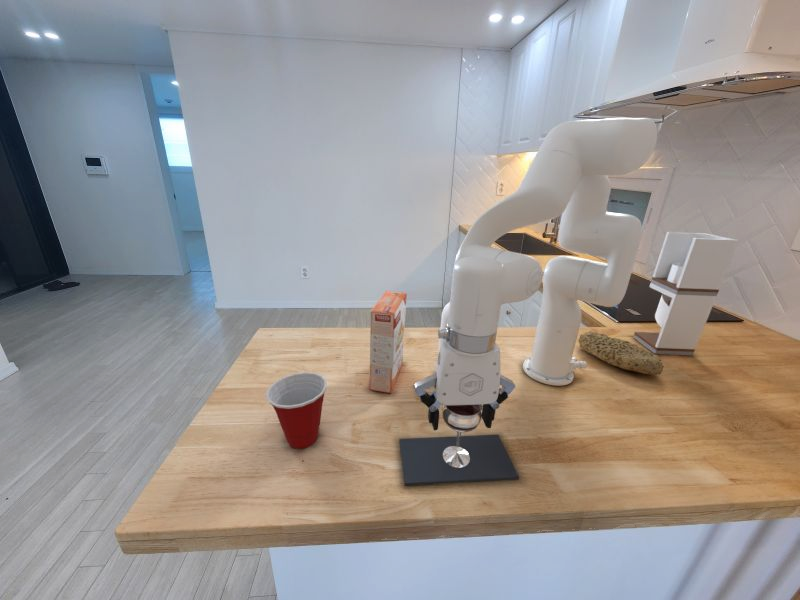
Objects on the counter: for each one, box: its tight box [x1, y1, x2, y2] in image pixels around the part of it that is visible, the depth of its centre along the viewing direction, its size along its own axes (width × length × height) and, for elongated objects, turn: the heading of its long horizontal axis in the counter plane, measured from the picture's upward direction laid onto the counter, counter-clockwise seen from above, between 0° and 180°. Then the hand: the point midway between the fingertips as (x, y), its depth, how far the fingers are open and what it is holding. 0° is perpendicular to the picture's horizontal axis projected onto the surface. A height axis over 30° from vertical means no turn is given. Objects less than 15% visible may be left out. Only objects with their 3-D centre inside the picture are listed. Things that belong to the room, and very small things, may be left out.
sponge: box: [578, 330, 665, 376], centre depth 95 cm, size 13×8×20 cm
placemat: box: [398, 434, 520, 487], centre depth 62 cm, size 20×10×1 cm, turn 95°
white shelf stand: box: [632, 231, 740, 356], centre depth 100 cm, size 11×11×35 cm
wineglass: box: [441, 404, 483, 468], centre depth 60 cm, size 7×7×12 cm
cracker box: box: [368, 290, 407, 394], centre depth 82 cm, size 14×6×21 cm, turn 168°
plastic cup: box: [265, 371, 328, 450], centre depth 63 cm, size 11×11×12 cm
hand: (460, 423), depth 59 cm, fingers open, 9 cm apart
